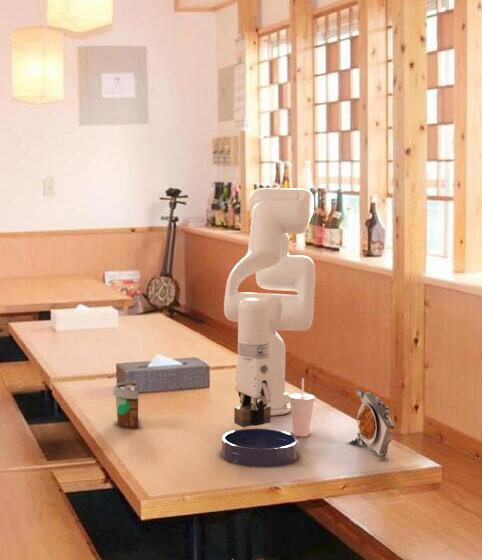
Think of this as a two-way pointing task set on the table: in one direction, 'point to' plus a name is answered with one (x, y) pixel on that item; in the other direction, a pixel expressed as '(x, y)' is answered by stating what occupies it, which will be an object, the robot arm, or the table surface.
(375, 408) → the meal
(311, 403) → the smoothie
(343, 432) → the table surface
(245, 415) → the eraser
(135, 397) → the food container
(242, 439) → the bowl
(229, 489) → the table surface
